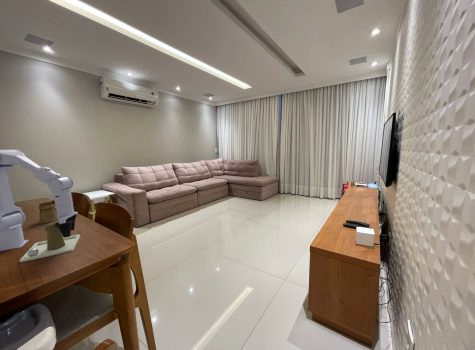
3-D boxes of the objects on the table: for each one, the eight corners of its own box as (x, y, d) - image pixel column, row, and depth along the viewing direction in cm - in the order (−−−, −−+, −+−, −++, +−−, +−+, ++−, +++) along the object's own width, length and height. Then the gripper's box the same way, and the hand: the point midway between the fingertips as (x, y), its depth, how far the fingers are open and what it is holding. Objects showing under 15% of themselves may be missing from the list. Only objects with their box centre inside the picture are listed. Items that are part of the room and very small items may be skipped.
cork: (54, 251, 84) (49, 226, 82) (43, 249, 86) (38, 225, 84) (68, 244, 90) (65, 221, 88) (58, 242, 91) (54, 220, 90)
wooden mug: (70, 217, 127) (66, 189, 124) (41, 224, 115) (36, 194, 112) (65, 214, 131) (60, 188, 128) (36, 221, 120) (31, 193, 117)
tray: (20, 263, 76) (19, 260, 76) (36, 245, 90) (35, 242, 90) (73, 251, 84) (72, 248, 84) (80, 237, 98) (79, 234, 98)
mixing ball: (26, 259, 78) (25, 251, 78) (29, 255, 81) (28, 248, 81) (37, 257, 80) (36, 249, 79) (40, 253, 83) (39, 246, 82)
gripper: (72, 207, 83) (77, 237, 85) (79, 199, 95) (83, 226, 97) (49, 210, 79) (55, 241, 81) (59, 201, 92) (64, 229, 94)
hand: (69, 233), depth 89 cm, fingers open, 7 cm apart
